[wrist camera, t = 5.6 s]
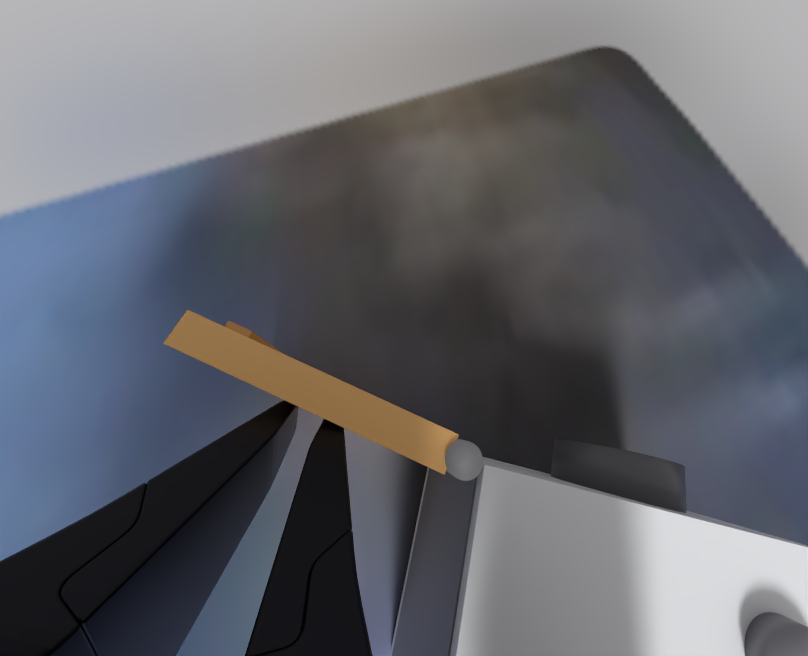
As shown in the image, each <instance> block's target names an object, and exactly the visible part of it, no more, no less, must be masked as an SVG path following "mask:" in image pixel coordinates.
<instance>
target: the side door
mask: <svg viewBox="0 0 808 656" xmlns="http://www.w3.org/2000/svg"><path fill="white" fill-rule="evenodd" d="M163 344H165V345H168V346H170V347H172V348H174V349H176V350H178V351H180V352H183V353H185V354H187V355H189V356H191V357H193V358H195V359H198V360H200V361H202V362H204V363H206V364H208V365H210V366H213V367H215V368H217V369H219V370H221V371H223V372H225V373H228V374H230V375H232V376H234V377H236V378H238V379H240V380H243V381H245V382H247V383H249V384H251V385H253V386H255V387H258V388H260V389H262V390H264V391H266V392H268V393H270V394H273V395H275V396H277V397H279V398H281V399H283V400H285V401H287V402H290V403H292V404H294V405H296V406H298V407H300V408H302V409H305V410H307V411H309V412H311V413H313V414H315V415H317V416H320V417H322V418H324V419H326V420H328V421H330V422H332V423H335V424H337V425H339V426H341V427H343V428H345V429H347V430H350V431H352V432H354V433H356V434H358V435H360V436H362V437H365V438H367V439H369V440H371V441H373V442H375V443H377V444H380V445H382V446H384V447H386V448H388V449H390V450H392V451H395V452H397V453H399V454H401V455H403V456H405V457H407V458H410V459H412V460H414V461H416V462H418V463H420V464H422V465H425V466H427V467H429V468H431V469H433V470H435V471H437V472H439V473H442V474H444V475H445V472H446V471H447V472H448V473H450V474H451V475H453V476H454V477H455V478H457V479H459V480H462V481H469V480H472V479H474V478H476V477H477V476H478V475H479V473H480V472H481V470H482V467H483V457H482V453H481V451H480V449H479V448H478V447H477V446H476V445H475V444H474V443H472V442H470V441H466V440H461V439H458V436H459V434H457V433H454V432H452V431H450V430H448V429H446V428H444V427H441V426H439V425H437V424H435V423H433V422H431V421H428V420H426V419H424V418H422V417H420V416H418V415H415V414H413V413H411V412H409V411H407V410H404V409H402V408H400V407H398V406H396V405H394V404H391V403H389V402H387V401H385V400H383V399H381V398H378V397H376V396H374V395H372V394H370V393H368V392H365V391H363V390H361V389H359V388H357V387H355V386H352V385H350V384H348V383H346V382H344V381H341V380H339V379H337V378H335V377H333V376H331V375H328V374H326V373H324V372H322V371H320V370H318V369H315V368H313V367H311V366H309V365H307V364H305V363H302V362H300V361H298V360H296V359H294V358H292V357H289V356H287V355H285V354H283V353H282V352H280V351H279V350H277V349H276V348H275V347H273V346H272V345H271V344H269V343H268V342H266V341H265V340H264V339H262V338H261V337H260V336H258V335H257V334H255V333H254V332H253V331H251V330H249V329H246V328H244V327H242V326H240V325H238V324H235V323H233V322H231V321H228V322H227V324H226V325H225V327H224V326H222V325H220V324H218V323H215V322H213V321H211V320H209V319H207V318H205V317H202V316H200V315H198V314H196V313H194V312H192V311H189V310H187V311H186V312H185V314H184V315H183V317H182V318H181V319H180V321H179V322H178V324H177V325H176V326H175V328H174V329H173V330H172V332H171V333H170V335H169V336H168V337H167V339H166V340H165V341H164V343H163Z"/></svg>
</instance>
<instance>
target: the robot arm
mask: <svg viewBox="0 0 808 656" xmlns="http://www.w3.org/2000/svg"><path fill="white" fill-rule="evenodd" d="M297 414H298V406H296V405H294V404H292V403H290V402H287V401H281V402H279V403H278V404H276V405H274V406H273V407H271V408H269V409H268V410H266V411H264V412H263V413H261V414H259V415H258V416H256V417H254V418H253V419H251V420H249V421H247V422H246V423H244V424H242V425H241V426H239V427H237V428H236V429H234V430H232V431H231V432H229V433H227V434H226V435H224V436H222V437H221V438H219V439H217V440H216V441H214V442H212V443H211V444H209V445H207V446H206V447H204V448H202V449H201V450H199V451H197V452H196V453H194V454H192V455H191V456H189V457H187V458H185V459H184V460H182V461H180V462H179V463H177V464H175V465H174V466H172V467H170V468H169V469H167V470H165V471H164V472H162V473H160V474H159V475H157V476H155V477H154V478H152V479H150V480H149V481H148V482H147V484H146V483H144V484H142V485H140V486H138V487H137V488H135V489H133V490H132V491H130V492H128V493H127V494H125V495H123V496H121V497H120V498H118V499H116V500H114V501H113V502H111V503H109V504H107V505H106V506H104V507H102V508H101V509H99V510H97V511H95V512H94V513H92V514H90V515H88V516H86V517H84V518H82V519H81V520H79V521H77V522H75V523H73V524H71V525H69V526H67V527H66V528H64V529H62V530H60V531H58V532H56V533H54V534H52V535H51V536H49V537H47V538H45V539H43V540H41V541H39V542H37V543H35V544H33V545H31V546H29V547H27V548H25V549H23V550H21V551H19V552H17V553H16V554H14V555H12V556H10V557H8V558H6V559H4V560H2V561H0V656H176V654H177V652H178V650H179V649H180V647H181V645H182V643H183V642H184V640H185V638H186V636H187V634H188V633H189V631H190V629H191V627H192V626H193V624H194V622H195V620H196V619H197V617H198V615H199V613H200V612H201V610H202V608H203V606H204V604H205V603H206V601H207V599H208V597H209V596H210V594H211V592H212V590H213V589H214V587H215V585H216V583H217V582H218V580H219V578H220V576H221V574H222V573H223V571H224V569H225V567H226V566H227V564H228V562H229V560H230V559H231V557H232V555H233V553H234V551H235V550H236V548H237V546H238V544H239V543H240V541H241V539H242V537H243V536H244V534H245V532H246V530H247V529H248V527H249V525H250V523H251V521H252V520H253V518H254V516H255V514H256V513H257V511H258V509H259V507H260V506H261V504H262V502H263V500H264V499H265V497H266V495H267V493H268V491H269V489H270V487H271V485H272V483H273V481H274V479H275V477H276V474H277V472H278V470H279V467H280V465H281V463H282V460H283V458H284V456H285V453H286V451H287V449H288V447H289V444H290V442H291V440H292V437H293V435H294V432H295V429H296V424H297ZM351 530H352V522H351V510H350V498H349V486H348V474H347V462H346V450H345V437H344V428H343V427H341V426H339V425H337V424H335V423H332V422H330V421H328V420H326V419H324V420H323V422H322V424H321V426H320V427H319V429H318V431H317V433H316V435H315V437H314V439H313V441H312V443H311V445H310V448H309V450H308V453H307V457H306V460H305V463H304V466H303V470H302V473H301V476H300V479H299V483H298V486H297V489H296V492H295V495H294V499H293V502H292V505H291V508H290V512H289V515H288V518H287V521H286V525H285V528H284V531H283V534H282V537H281V541H280V544H279V547H278V550H277V554H276V557H275V560H274V563H273V567H272V570H271V573H270V576H269V579H268V583H267V586H266V589H265V592H264V596H263V599H262V602H261V605H260V609H259V612H258V615H257V618H256V621H255V625H254V628H253V631H252V634H251V638H250V641H249V644H248V647H247V651H246V654H245V656H372V651H371V646H370V642H369V637H368V632H367V627H366V622H365V617H364V612H363V608H362V602H361V596H360V590H359V585H358V579H357V572H356V563H355V554H354V545H353V533H352V531H351Z"/></svg>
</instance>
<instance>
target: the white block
mask: <svg viewBox="0 0 808 656" xmlns="http://www.w3.org/2000/svg"><path fill="white" fill-rule="evenodd" d="M391 654H392V656H808V546H807V545H804V544H800V543H797V542H794V541H790V540H787V539H783V538H780V537H776V536H773V535H769V534H766V533H762V532H759V531H755V530H752V529H748V528H745V527H741V526H738V525H734V524H731V523H727V522H724V521H721V520H717V519H714V518H710V517H707V516H703V515H700V514H696V513H693V512H689V511H686V488H685V466H683V465H681V464H678V463H675V462H672V461H668V460H664V459H661V458H657V457H653V456H649V455H644V454H640V453H636V452H631V451H627V450H622V449H617V448H612V447H607V446H602V445H597V444H592V443H586V442H580V441H574V440H566V439H554V443H553V455H552V466H551V474H548V473H544V472H540V471H536V470H533V469H529V468H525V467H521V466H517V465H513V464H509V463H505V462H501V461H497V460H493V459H490V458H486V457H483V467H482V470H481V472H480V473H479V475H478V476H477V477H476V478H474V479H472V480H469V481H462V480H459V479H457V478H455V477H454V476H453V475H451V474H450V473H448V472H447V471H446V472H445V475H444V474H442V473H439V472H437V471H435V470H433V469H431V468H429V467H428V468H427V473H426V478H425V483H424V488H423V493H422V498H421V503H420V508H419V513H418V517H417V522H416V527H415V532H414V537H413V542H412V547H411V552H410V557H409V562H408V567H407V572H406V577H405V582H404V587H403V592H402V597H401V602H400V607H399V612H398V617H397V622H396V627H395V632H394V637H393V642H392V647H391Z"/></svg>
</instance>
